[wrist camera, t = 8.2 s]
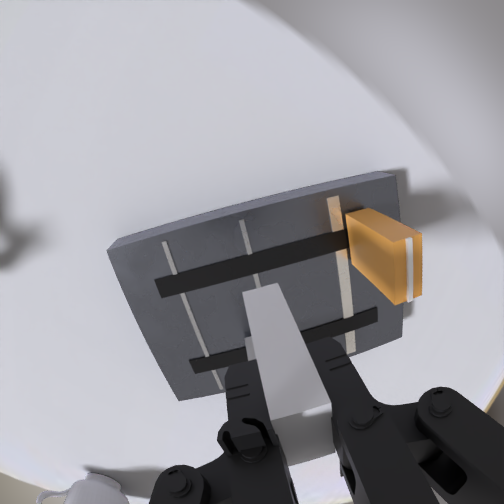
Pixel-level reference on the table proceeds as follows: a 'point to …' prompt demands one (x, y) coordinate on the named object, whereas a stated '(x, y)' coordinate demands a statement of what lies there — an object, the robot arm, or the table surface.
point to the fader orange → (386, 254)
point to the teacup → (90, 491)
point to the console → (255, 278)
